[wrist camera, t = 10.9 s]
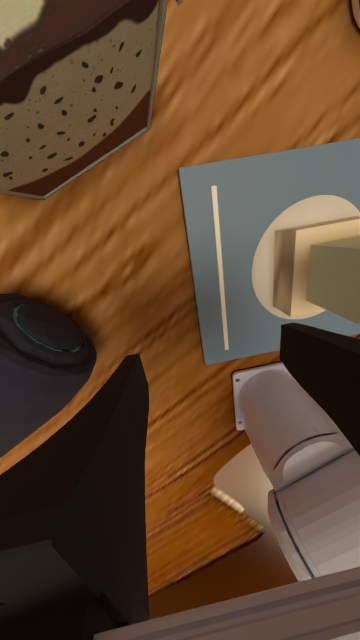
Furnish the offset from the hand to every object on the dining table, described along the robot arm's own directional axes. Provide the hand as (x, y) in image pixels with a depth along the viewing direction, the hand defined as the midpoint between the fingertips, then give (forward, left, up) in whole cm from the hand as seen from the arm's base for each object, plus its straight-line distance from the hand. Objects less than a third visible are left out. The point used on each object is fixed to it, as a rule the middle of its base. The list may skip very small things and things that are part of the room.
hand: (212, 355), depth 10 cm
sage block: (+1, -12, -7) cm, 14 cm away
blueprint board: (+1, -12, -10) cm, 16 cm away
